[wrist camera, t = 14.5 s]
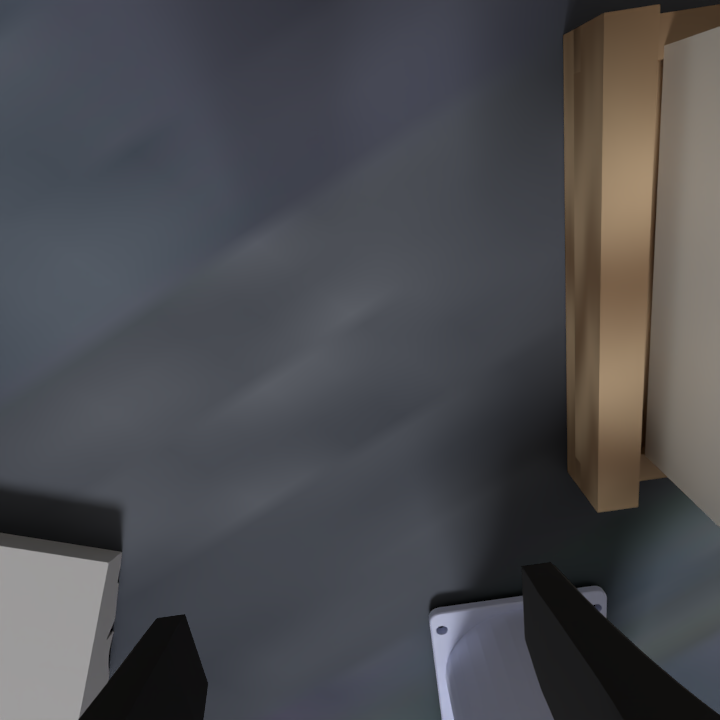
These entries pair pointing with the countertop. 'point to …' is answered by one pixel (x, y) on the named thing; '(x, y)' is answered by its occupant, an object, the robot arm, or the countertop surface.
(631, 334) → the oak rack
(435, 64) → the countertop surface
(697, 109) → the light grey rectangular block
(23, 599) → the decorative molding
